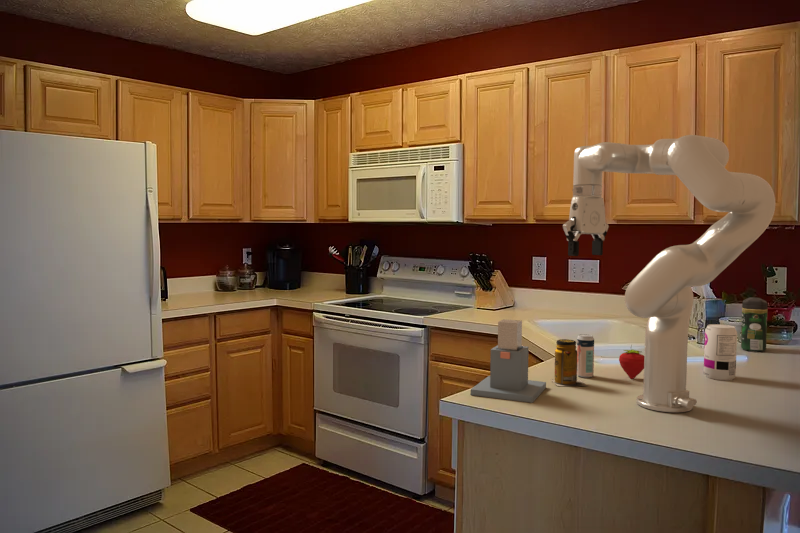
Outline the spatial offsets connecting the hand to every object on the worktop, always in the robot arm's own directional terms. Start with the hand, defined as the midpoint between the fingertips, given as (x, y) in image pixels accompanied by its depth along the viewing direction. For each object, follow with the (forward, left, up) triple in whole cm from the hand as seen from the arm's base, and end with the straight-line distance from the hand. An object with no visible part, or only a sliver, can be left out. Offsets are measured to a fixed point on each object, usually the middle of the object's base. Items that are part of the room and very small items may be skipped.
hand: (585, 255), depth 168 cm
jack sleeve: (0, +23, -36) cm, 42 cm away
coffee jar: (+20, -87, -36) cm, 96 cm away
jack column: (0, +23, -34) cm, 41 cm away
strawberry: (0, -17, -36) cm, 39 cm away
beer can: (+7, -6, -36) cm, 37 cm away
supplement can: (-7, -42, -36) cm, 55 cm away
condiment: (+2, +3, -36) cm, 36 cm away
